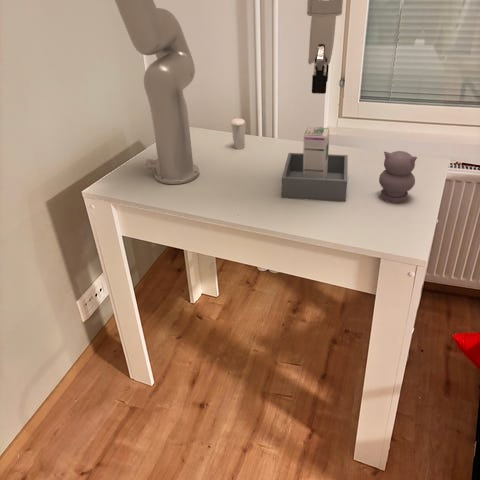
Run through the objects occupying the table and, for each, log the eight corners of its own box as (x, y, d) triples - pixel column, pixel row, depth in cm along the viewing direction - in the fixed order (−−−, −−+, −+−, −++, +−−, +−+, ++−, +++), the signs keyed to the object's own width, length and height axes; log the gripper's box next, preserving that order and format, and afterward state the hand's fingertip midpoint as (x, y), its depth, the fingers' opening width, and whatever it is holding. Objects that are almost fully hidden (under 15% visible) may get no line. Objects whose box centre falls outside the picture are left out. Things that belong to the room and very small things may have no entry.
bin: (281, 197, 120) (281, 177, 117) (288, 171, 133) (288, 152, 130) (345, 201, 117) (347, 181, 114) (345, 173, 130) (347, 155, 127)
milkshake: (243, 151, 146) (242, 120, 141) (229, 148, 149) (227, 117, 143) (251, 146, 149) (250, 115, 144) (237, 143, 152) (235, 113, 146)
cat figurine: (414, 193, 119) (422, 148, 113) (409, 207, 113) (417, 161, 107) (380, 187, 123) (386, 143, 116) (373, 200, 117) (379, 155, 110)
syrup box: (324, 189, 122) (327, 135, 114) (301, 187, 123) (303, 134, 115) (327, 179, 126) (330, 127, 118) (305, 177, 128) (307, 126, 120)
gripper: (310, 2, 109) (306, 77, 118) (304, 13, 95) (300, 97, 104) (342, 1, 108) (336, 77, 117) (341, 12, 94) (335, 98, 103)
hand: (319, 87), depth 111 cm, fingers open, 9 cm apart
